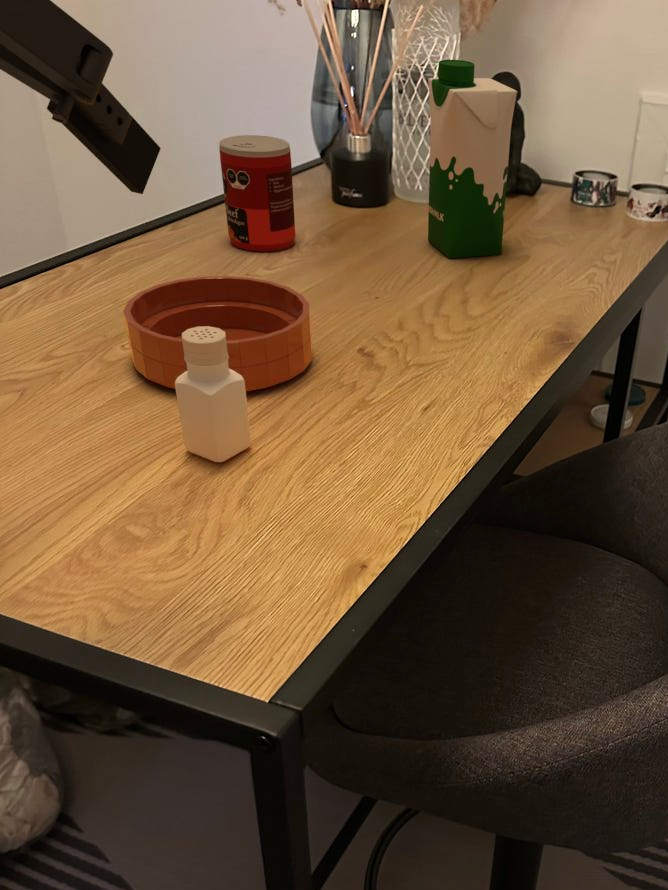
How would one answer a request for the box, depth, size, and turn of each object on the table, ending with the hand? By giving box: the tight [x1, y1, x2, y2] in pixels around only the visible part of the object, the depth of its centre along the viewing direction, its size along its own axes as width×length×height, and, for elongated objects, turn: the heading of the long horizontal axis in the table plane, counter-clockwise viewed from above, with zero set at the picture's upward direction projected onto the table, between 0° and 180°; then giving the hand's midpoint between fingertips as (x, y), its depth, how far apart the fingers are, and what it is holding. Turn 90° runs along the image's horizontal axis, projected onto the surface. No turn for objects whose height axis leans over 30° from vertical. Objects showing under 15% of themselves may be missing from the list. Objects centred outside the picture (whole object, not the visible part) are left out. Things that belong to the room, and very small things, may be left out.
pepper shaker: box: [174, 326, 252, 463], centre depth 72 cm, size 4×4×10 cm
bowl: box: [122, 275, 313, 392], centre depth 86 cm, size 16×16×5 cm
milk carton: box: [427, 59, 518, 259], centre depth 111 cm, size 9×9×20 cm
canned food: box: [218, 134, 296, 253], centre depth 111 cm, size 8×8×11 cm
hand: (49, 149), depth 52 cm, fingers open, 13 cm apart
